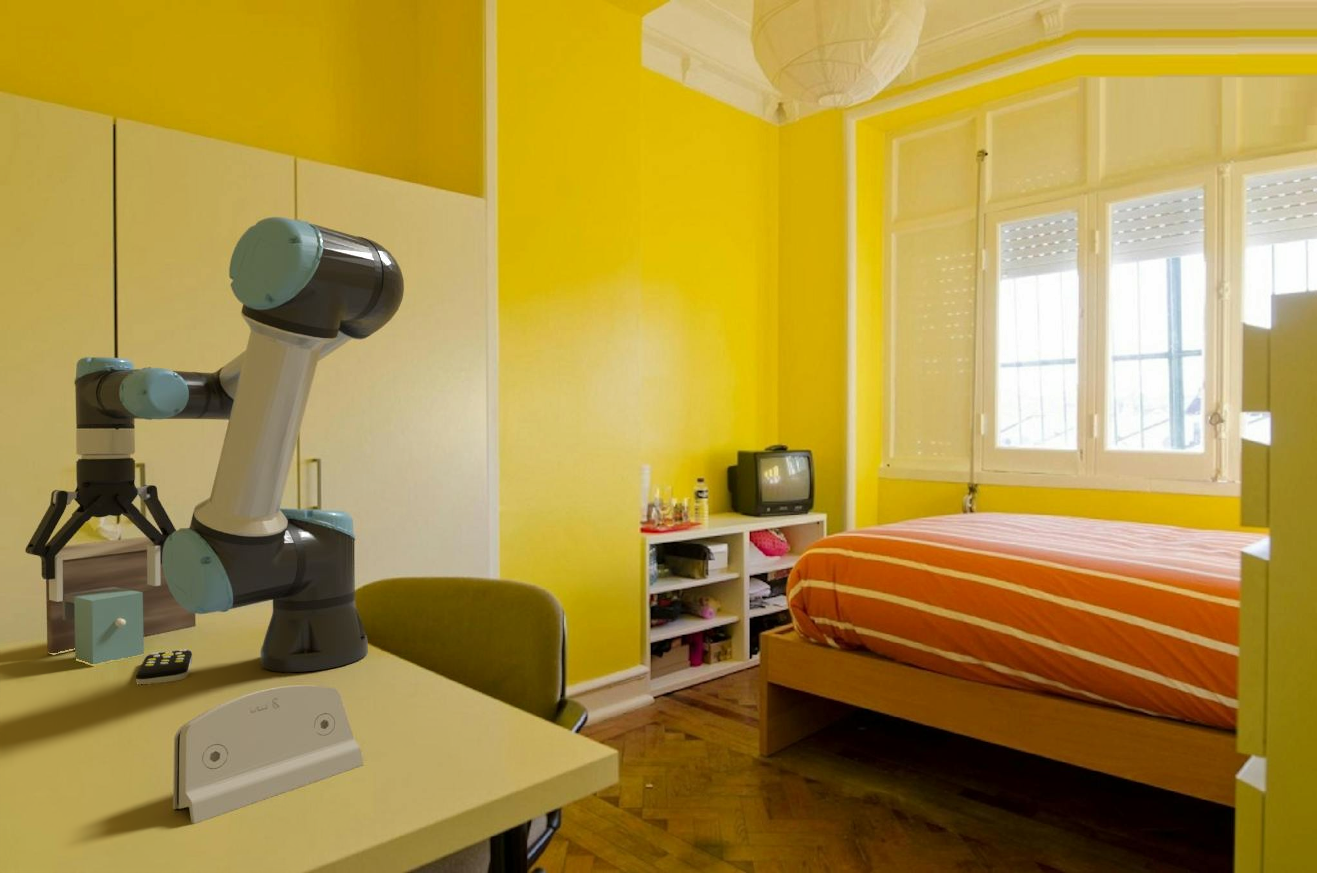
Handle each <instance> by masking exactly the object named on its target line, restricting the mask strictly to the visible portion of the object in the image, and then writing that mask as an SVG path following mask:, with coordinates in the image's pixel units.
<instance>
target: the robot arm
mask: <svg viewBox="0 0 1317 873" xmlns="http://www.w3.org/2000/svg"><path fill="white" fill-rule="evenodd" d="M228 272H229V274H228V275H229V278H230V279H231V280H232V281H231V283H230V288H231V290H232V293H233V295H234V296H235V297H236V299H237V300H238V302H240V303H241V304H242V308H241V311H240V314H241V317H242V318H243V320H244V322H246V324H247V325H248V327H249V330H250V332H249V336H248V340H247V344H246V349H245V350H244V351H243V352H241V353H240V354H239V355H237V356H236V357H234V358H233V359H231V361H229V362H228V363H227V364H225V365H223V366H222V367H220V368H219V369H217V370H216V371H215V372H197V371H185V370H184V371H181V370H171V369H169V368H160V367H151V366H149V367H142V368H136V369H135V365H134V363H133V361H132V360H130V359H128V358H123V357H121V358H119V357H109V356H108V357H106V356H104V357H101V356H97V357H92V356H87V357H86V356H85V357H81V358H79V360H78V361H77V362H76V370H75V371H76V373H75V379H74V383H73V384H74V388H75V420H76V421H75V423H76V425H75V426H76V429H75V430H76V433H75V434H76V436H75V439H76V440H75V442H76V446H75V447H76V452H75V453H76V455H78V456H80V458H78V459H77V460H76V465H75V466H76V471H75V472H76V489H75V490H74V491H68V490H60V489H55V490H52V491H51V494H50V495H51V496H50V504H49V506H48V508H47V510H46V511H45V513H44V515H43V517H42V518H41V520H40V523H39V524H38V526H37V528H36V529H35V532H34V533H33V534H32V537H31V538H30V540H29V542H28V544H27V545H26V547H25V553H26V554H29V555H32V556H37V557H40V561H41V577H42V579H43V580H45V581H46V580H49V600H52V601H56V602H59V601H63V557H58V556H56V555H57V554H58V553H59V552H60V550H61V549H62V548H63V547H64V546H67V544H68V542H70V540H71V539H72V538H73V537H74V536H75V535H76V534H77V532H78V531H79V530H80V529H81V528H82V527H83V526H84V525H85V524H86V523H87V522H89V521H90V520H91V519H92V518H93V517H94V518H106V517H108V516H114V517H119V516H121V515H123V516H124V517H126V518H127V519H128V520H129V521H130V522H131V523H132V524H133V525H134V526H135V527H136V528H137V529H138V530H140V532H141V533H142V534H143V535H144V536H145V537H148V538H149V539H150V540H151V541H152V542H153V543H154V545H153V544H151V545H147V584H148V585H153V586H159V585H161V582H160V564H162V565H163V572H164V576H165V580H166V582H167V584H168V587H169V590H170V592H171V593H172V595H173V597H174V598H175V599H176V601H177V602H178V603H179V604H180V605H181V606H182V607H183V608H185V609H186V610H188V611H190V612H193V613H195V615H196V614H199V615H204V614H211V613H216V612H221V613H226V612H229V611H230V610H232V609H237V608H242V607H246V606H250V605H254V604H259V603H263V602H264V603H265V602H269V601H272V613H271V618H270V621H269V624H268V625H267V629H266V632H265V636H264V640H263V642H262V645H261V648H260V666H261V668H263V669H264V670H268V671H273V672H278V673H279V672H280V673H281V672H283V673H299V672H300V673H301V672H302V673H303V672H311V671H312V672H313V671H319V670H327V669H332V668H337V667H342V666H344V665H349V664H351V663H354V662H357V661H359V660H361V659H362V658H365V657H366V656H367V654H368V653H369V647H368V646H369V645H368V641H369V640H368V637H367V633H366V631H365V628H364V625H363V622H362V619H361V617H360V615H359V612H358V608H357V606H356V605H357V604H356V596H355V595H356V588H355V587H356V585H355V580H356V579H355V573H356V572H355V568H356V567H355V562H356V561H355V541H356V535H355V534H354V532H355V531H354V519H353V517H352V516H351V514H349V512H346V511H343V510H324V509H305V508H303V509H302V508H280V507H281V504H282V500H283V497H284V493H285V488H286V485H287V481H288V477H289V473H290V469H291V465H292V462H293V457H294V453H295V451H296V446H297V443H298V439H299V435H300V430H301V428H302V425H303V424H302V423H303V419H304V416H305V413H306V409H307V405H308V401H309V397H310V393H311V389H312V384H313V381H314V378H315V373H316V369H317V366H318V362H319V361H321V360H322V359H324V358H326V357H327V356H329V355H330V354H331V353H333V352H335V351H336V350H338V349H340V347H342V346H344V345H345V344H347V343H348V342H349V341H351V340H358V341H359V340H364V339H367V338H368V337H370V336H371V335H373V334H375V333H377V332H378V331H379V330H380V329H382V328H383V327H384V326H385V325H387V324H388V323H389V321H391V320H392V318H393V317H394V316H395V315H396V313H397V312H398V311H399V308H400V306H401V304H402V302H403V299H404V293H405V284H404V276H403V273H402V272H403V271H402V269H401V267H400V265H399V264H398V261H397V260H396V258H395V257H394V256H393V255H392V253H391V252H390V251H389V250H387V249H386V248H385V247H383V245H381V244H379V243H378V242H376V241H374V240H371V239H369V238H366V237H362V236H356V235H353V234H349V233H347V232H343V231H338V230H334V229H332V228H329V227H325V226H321V225H317V224H313V223H311V222H309V221H304V220H301V219H293V218H287V217H280V216H272V217H266V218H263V219H260V220H259V221H257V222H256V223H255V224H254V225H251V226H250V227H248V228H247V229H246V230H245V231H244V233H243V234H242V235H241V236H240V238H239V240H237V242H236V244H235V247H234V249H233V252H232V254H231V258H230V262H229V268H228ZM135 419H137V420H138V419H139V420H151V421H152V420H223V421H225V420H227V421H228V423H227V427H226V432H225V434H224V439H223V443H222V448H221V452H220V456H219V460H218V463H217V464H218V465H217V468H216V473H215V477H214V480H213V485H212V489H211V493H210V497H208V498H207V499H204V500H203V501H201V502H199V503H197V504H196V505H195V507H194V508H193V511H192V512H193V513H192V516H191V521H190V525H189V527H184V528H183V527H182V528H179V529H176V527H175V526H174V524H173V522H172V520H171V518H170V517H169V515H168V513H167V512H166V510H165V508H164V506H163V505H162V503H161V501H160V499H159V494H158V493H159V492H158V488H157V486H156V485H153V484H152V485H150V484H144V485H142V486H140V487H136V485H135V480H136V460H135V459H134V458H133V457H132V456H131V455H134V454H135V453H136V442H135V441H136V440H135V439H136V437H135V436H136V435H135V433H136V432H135V430H136V429H135V422H136V421H135ZM137 497H138V498H140V499H141V500H143V502H144V504H145V506H146V508H147V510H148V512H149V513H150V515H151V516H152V519H153V521H154V522H155V523H156V526H157V527H158V528H156V527H155V525H153V524H152V523H151V522H150V521H149V520H148V518H146V516H144V515H143V513H141V511H140V509H139V508H138V507H136V506H135V504H134V503H133V502H134V500H135V499H136V498H137ZM73 500H75V502H76V504H78V505H79V506H78V507H77V508H76V510H74V512H73V513H72V514H71V516H70V518H69V519H68V520H67V521H66V522H65V523H64V524H63V526H61V528H60V529H59V530H58V531H57V532H56V533H55V534H54V535H53V536H52V534H53V533H54V531H55V529H56V527H57V525H58V523H59V522H60V520H61V518H62V517H63V516H64V515H63V514H65V510H66V509H67V506H69V505H70V504H71V503H72V501H73ZM158 529H159V530H158ZM51 536H52V538H51Z"/></svg>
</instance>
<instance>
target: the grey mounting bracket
mask: <svg viewBox="0 0 1317 873" xmlns="http://www.w3.org/2000/svg"><path fill="white" fill-rule="evenodd" d="M343 703H344V702H343V699H342V697H341V693H340V691H338V689H337V688H334V687H330V686H320V685H312V684H311V685H310V684H309V685H308V684H307V685H304V684H303V685H302V684H299V685H284V686H278V687H271V688H266V689H261V690H257V691H253V692H252V693H251V692H250V693H247V694H244V695H241V696H238V697H236V698H233V699H231V700H228V701H226V702H222V703H220V704H218V705H216V706H214V707H212V708H210V709H209V710H207V711H204V712H202V713H201V714H199V715H196V716H195V717H194V718H192V719H190V720H189V721H188V722H186V723H184V724H183V725H181V726H180V727H179V729H177V731H176V733H175V735H174V738H173V791H172V792H173V794H172V797H173V801H172V802H173V803H172V807H173V810H177V809H179V810H180V809H184V808H189V815H190V823H191V824H197V823H200V822H203V821H206V820H208V819H212V818H215V817H218V816H221V815H223V814H227V813H229V812H232V811H235V810H238V809H241V808H243V807H246V806H249V805H252V804H255V803H258V802H260V801H264V800H267V799H269V798H272V797H275V796H278V795H280V794H281V795H282V794H284V793H287V792H290V791H292V790H296V789H299V788H301V787H304V786H307V785H310V784H313V783H315V782H319V781H321V780H324V779H326V778H330V777H333V776H336V775H339V774H342V773H344V772H347V771H351V770H353V769H357V768H359V767H361V766H364V761H363V760H364V759H363V755H362V749H361V747H360V745H359V744H358V742H357V741H356V739H355V737H354V734H353V731H352V728H351V725H350V722H349V719H348V715H347V712H346V709H345V707H344V704H343Z"/></svg>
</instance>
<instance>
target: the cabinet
mask: <svg viewBox="0 0 1317 873" xmlns="http://www.w3.org/2000/svg"><path fill="white" fill-rule="evenodd" d="M62 604H63V620H68V619H74V618H75V651H74V652H75V654H74V656H75V658H77V659H79V660H82V661H85V662H88V663H90V664H98V663H101V662H107V661H110V660H118V659H121V658H128V657H132V656H137V655H141V654H144V652H145V650H144V649H145V646H144V637H143V592H138V591H133V590H128V589H122V588H117V587H106V588H99V589H93V590H86V591H80V592H73V593H67V594H63V601H62ZM144 655H145V654H144Z"/></svg>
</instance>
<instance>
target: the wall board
mask: <svg viewBox="0 0 1317 873" xmlns="http://www.w3.org/2000/svg"><path fill="white" fill-rule="evenodd" d="M151 544H153V545H154V543H153V542H152V541H151V540H150V539H149V538H148V537H147V536H141V537H132V538H124V539H123V538H121V539H114V540H105V541H97V542H86V543H77V544H68V545H67V544H66V545H65V546H64V547H63V548H62V549H61V550H60V552H59V553H58V554H57V555H56V556H58V557H63V594H67V593H73V592H80V591H86V590H93V589H99V588H106V587H117V588H122V589H128V590H133V591H138V592H143V636H145V637H147V636H146V635H150V636H153V635H158V634H157V633H159V634H163V633H168V631H169V632H174V631H177V629H178V630H183V629H187V628H186V627H188V628H192V626H193V627H196V613H193V612H190V611H188V610H186V609H185V608H183V607H182V606H181V605H180V604H179V603H178V602H177V601H176V599H175V598H174V597H173V595H172V593H171V592H170V590H169V587H168V584H167V582H166V580H165V576H164V572H163V565H162V564H160V582H161V585H159V586H153V585H148V584H147V545H151ZM45 594H46V596H45V597H46V644H47V645H46V649H47V652H49V653H58V652H60V651H65V650H69V649H74V648H75V618H74V619H68V620H63V604H62V601H59V602H56V601H52V600H49V580H46V579H45Z"/></svg>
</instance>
